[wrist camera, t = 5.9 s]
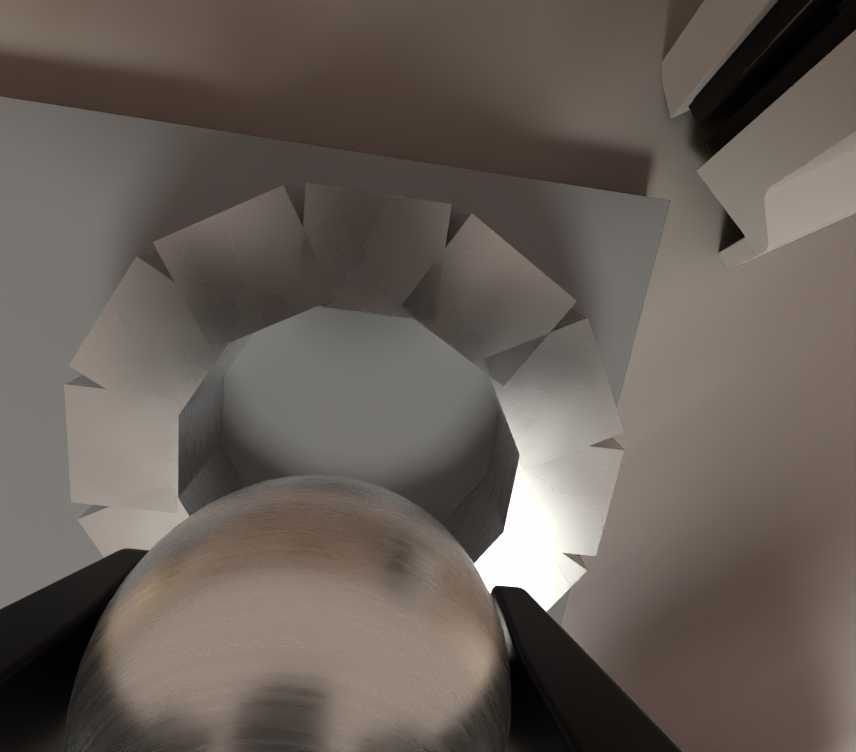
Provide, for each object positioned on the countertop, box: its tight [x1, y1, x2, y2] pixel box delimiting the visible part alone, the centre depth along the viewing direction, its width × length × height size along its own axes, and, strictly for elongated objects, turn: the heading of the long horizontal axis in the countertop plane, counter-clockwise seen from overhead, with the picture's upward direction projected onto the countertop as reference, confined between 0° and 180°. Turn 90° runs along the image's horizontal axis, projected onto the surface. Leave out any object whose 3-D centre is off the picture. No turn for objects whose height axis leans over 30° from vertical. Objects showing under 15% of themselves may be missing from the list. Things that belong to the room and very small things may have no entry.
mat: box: [0, 96, 670, 625], centre depth 13 cm, size 16×21×1 cm
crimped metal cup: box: [64, 182, 624, 612], centre depth 11 cm, size 10×10×2 cm
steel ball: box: [63, 475, 511, 752], centre depth 6 cm, size 4×4×4 cm
